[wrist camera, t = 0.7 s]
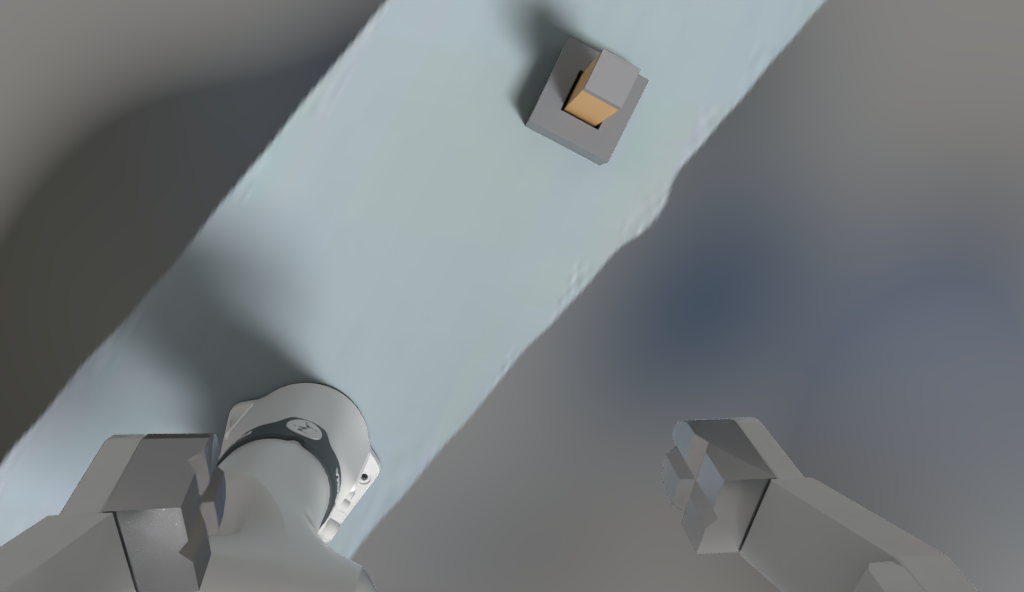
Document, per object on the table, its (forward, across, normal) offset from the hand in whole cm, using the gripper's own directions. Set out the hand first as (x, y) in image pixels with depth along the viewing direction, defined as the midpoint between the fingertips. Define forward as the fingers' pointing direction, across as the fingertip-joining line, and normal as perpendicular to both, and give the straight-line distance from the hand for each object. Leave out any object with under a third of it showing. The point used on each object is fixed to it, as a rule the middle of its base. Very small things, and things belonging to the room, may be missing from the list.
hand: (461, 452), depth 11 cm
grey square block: (+62, +20, -5) cm, 65 cm away
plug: (+62, +20, -5) cm, 65 cm away
